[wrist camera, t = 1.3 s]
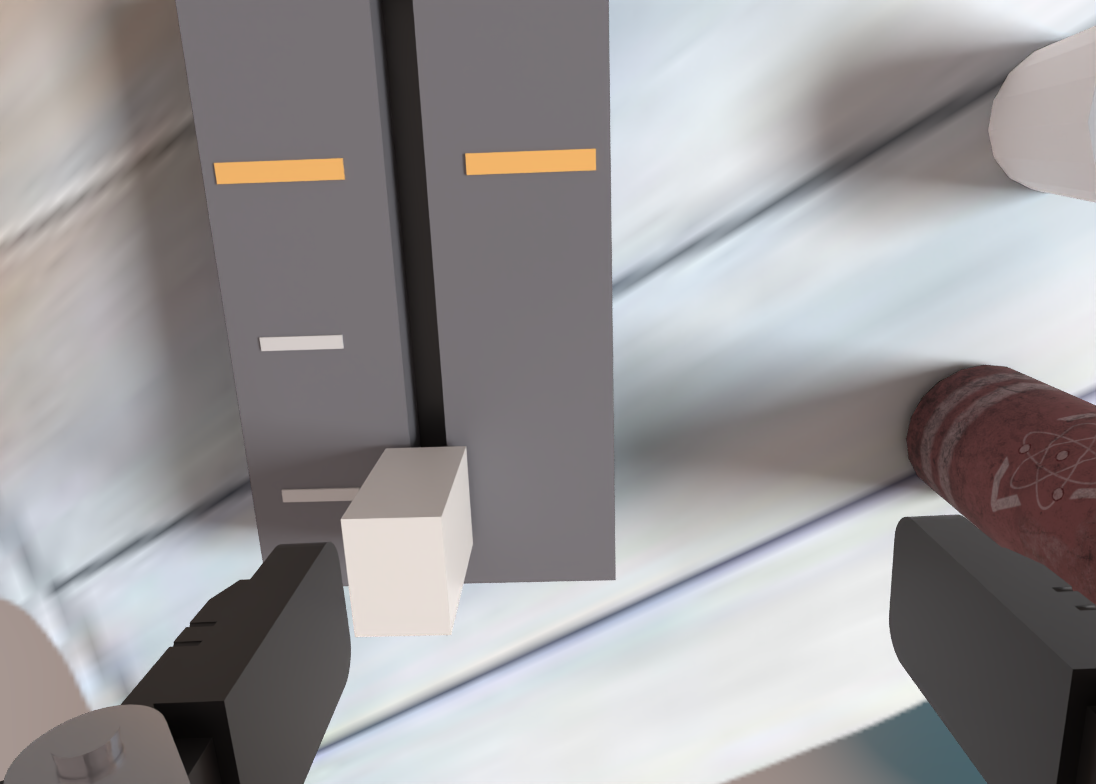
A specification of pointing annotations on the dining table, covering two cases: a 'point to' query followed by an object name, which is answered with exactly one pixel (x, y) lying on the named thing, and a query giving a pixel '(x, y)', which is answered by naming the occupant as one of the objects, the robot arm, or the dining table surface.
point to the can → (1014, 465)
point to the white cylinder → (1050, 119)
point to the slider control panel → (417, 259)
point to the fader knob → (409, 542)
